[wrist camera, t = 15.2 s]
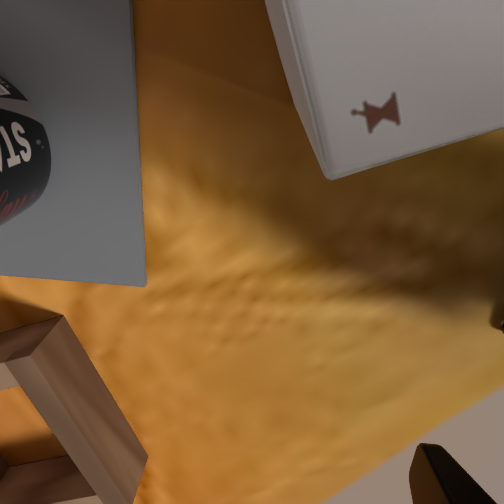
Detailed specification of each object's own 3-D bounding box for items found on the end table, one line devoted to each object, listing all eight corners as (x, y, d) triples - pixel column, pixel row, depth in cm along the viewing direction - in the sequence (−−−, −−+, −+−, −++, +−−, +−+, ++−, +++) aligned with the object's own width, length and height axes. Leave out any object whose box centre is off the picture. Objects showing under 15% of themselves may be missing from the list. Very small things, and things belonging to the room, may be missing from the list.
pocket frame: (63, 315, 23) (29, 355, 20) (148, 456, 28) (131, 507, 25) (-100, 360, 26) (-154, 403, 22) (2, 485, 30) (-30, 535, 27)
